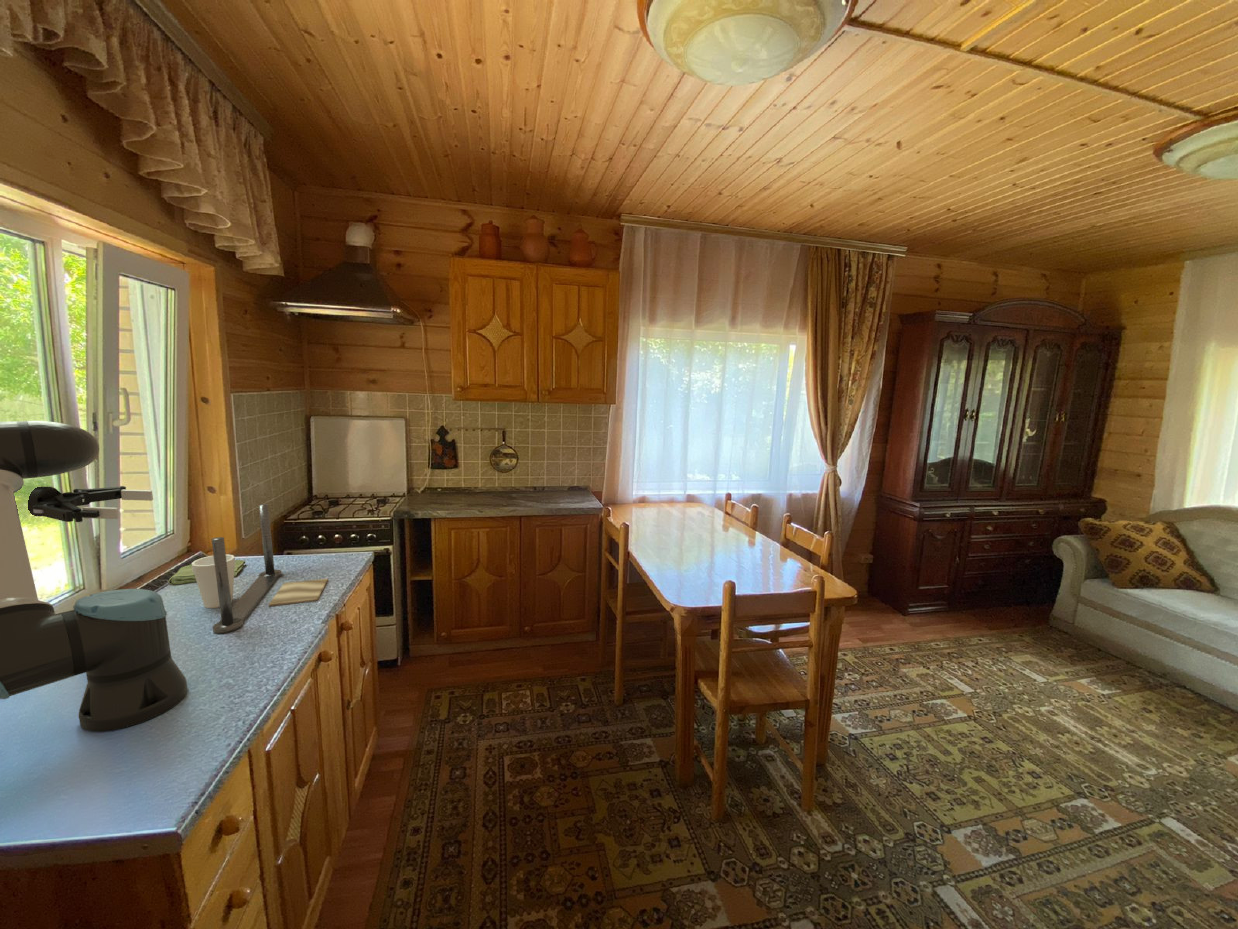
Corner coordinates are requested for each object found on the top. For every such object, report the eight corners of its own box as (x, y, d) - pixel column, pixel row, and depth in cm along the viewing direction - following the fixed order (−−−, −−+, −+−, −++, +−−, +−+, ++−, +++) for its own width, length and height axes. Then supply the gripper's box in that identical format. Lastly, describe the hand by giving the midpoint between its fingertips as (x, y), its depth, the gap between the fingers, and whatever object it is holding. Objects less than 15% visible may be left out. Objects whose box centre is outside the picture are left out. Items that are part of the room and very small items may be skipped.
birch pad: (317, 600, 143) (317, 599, 143) (268, 606, 139) (268, 604, 139) (328, 580, 158) (327, 578, 158) (284, 584, 154) (284, 583, 153)
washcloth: (238, 578, 159) (237, 569, 158) (167, 588, 151) (166, 578, 150) (246, 565, 170) (245, 556, 170) (181, 573, 162) (180, 564, 161)
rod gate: (237, 631, 125) (227, 541, 121) (209, 635, 123) (197, 543, 119) (283, 572, 164) (277, 502, 160) (262, 574, 161) (255, 503, 157)
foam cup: (232, 607, 138) (227, 564, 136) (191, 612, 134) (185, 568, 132) (243, 594, 146) (239, 552, 144) (205, 598, 143) (200, 556, 141)
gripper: (71, 498, 134) (165, 501, 140) (-14, 534, 111) (102, 536, 117) (67, 472, 133) (163, 476, 139) (-21, 503, 109) (98, 507, 115)
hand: (135, 504), depth 128 cm, fingers open, 13 cm apart
